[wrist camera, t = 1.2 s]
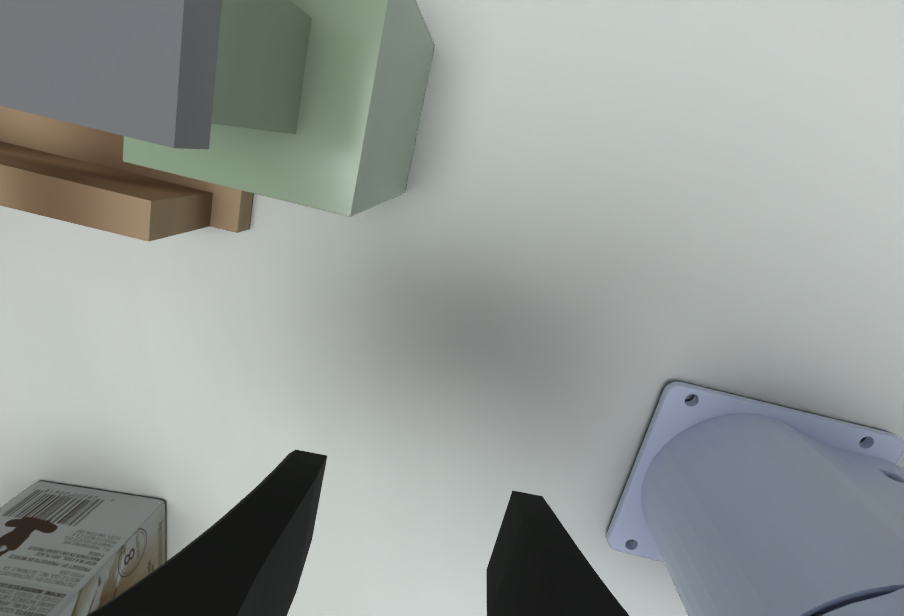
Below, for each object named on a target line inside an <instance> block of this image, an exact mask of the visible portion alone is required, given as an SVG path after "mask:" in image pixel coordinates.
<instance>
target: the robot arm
mask: <svg viewBox="0 0 904 616" xmlns="http://www.w3.org/2000/svg"><path fill="white" fill-rule="evenodd" d="M690 394H695V396H694V398H693V400H691V401H689V402H685V398H686V397H687V396H688V395H690ZM864 437H866V439H865V440H864V441H863V442H861V443H860V440H861V439H862V438H864ZM903 449H904V442H903V441H902V439H901V438H899V437H898V436H896V435H894V434H892V433H889V432H885V431H881V430H877V429H873V428H869V427H865V426H861V425H856V424H852V423H848V422H844V421H840V420H836V419H832V418H828V417H823V416H819V415H815V414H811V413H807V412H803V411H799V410H795V409H790V408H786V407H782V406H778V405H774V404H770V403H766V402H762V401H757V400H753V399H749V398H745V397H741V396H737V395H733V394H729V393H724V392H720V391H716V390H712V389H708V388H704V387H700V386H695V385H691V384H687V383H683V382H672V383H670V384H668V385H667V386H666V387H665V389H664V390H663V393H662V395H661V398H660V400H659V403H658V405H657V408H656V410H655V413H654V416H653V418H652V421H651V423H650V426H649V428H648V431H647V433H646V436H645V438H644V441H643V443H642V446H641V448H640V451H639V453H638V456H637V459H636V461H635V464H634V466H633V469H632V471H631V474H630V476H629V479H628V481H627V484H626V486H625V489H624V491H623V494H622V496H621V499H620V501H619V504H618V507H617V509H616V512H615V514H614V517H613V519H612V522H611V524H610V527H609V529H608V532H607V536H606V538H607V541H608V544H609V546H610V547H611V548H612V549H614V550H616V551H621V552H625V553H629V554H633V555H637V556H642V557H646V558H650V559H654V560H658V561H663V562H664V563H665V565H666V567H667V569H668V571H669V574H670V576H671V578H672V580H673V583H674V585H675V587H676V589H677V591H678V594H679V596H680V598H681V600H682V603H683V605H684V607H685V609H686V611H687V614H688V616H904V470H903V469H902V468H900V467H899V466H898V465H896V462H897V460H898V459H899V457H900V455H901V453H902V452H903ZM326 459H327V456H326V455H321V454H315V453H310V452H305V451H300V450H295V451H293V452H291V453H289V454H288V455H287V456H286V458H285V459H284V460H283V461H282V462H281V463H280V464H279V465H278V466H277V467H276V468H275V469H274V470H273V471H272V472H271V473H270V474H269V475H268V476H267V477H266V478H265V479H264V480H263V481H262V482H261V483H260V484H259V485H258V486H257V487H256V488H255V489H254V490H253V491H251V492H250V493H249V494H248V495H247V496H246V497H245V498H244V499H243V500H241V501H240V502H239V503H238V504H237V505H236V506H235V507H234V508H232V509H231V510H230V511H229V512H228V513H227V514H226V515H224V516H223V517H222V518H221V519H220V520H219V521H217V522H216V523H215V524H214V525H213V526H211V527H210V528H209V529H208V530H206V531H205V532H204V533H203V534H201V535H200V536H199V537H198V538H196V539H195V540H194V541H192V542H191V543H190V544H189V545H187V546H186V547H185V548H184V549H182V550H181V551H180V552H179V553H177V554H176V555H175V556H173V557H172V558H171V559H169V560H168V561H167V562H165V563H164V564H163V565H161V566H160V567H158V568H157V569H156V570H154V571H153V572H151V573H150V574H149V575H147V576H146V577H144V578H143V579H142V580H140V581H139V582H137V583H136V584H134V585H133V586H131V587H130V588H128V589H127V590H125V591H124V592H123V593H121V594H120V595H118V596H117V597H115V598H114V599H112V600H111V601H109V602H107V603H106V604H104V605H103V606H101V607H99V608H98V609H96V610H95V611H93V612H91V613H90V614H88V615H87V616H287V613H288V611H289V608H290V606H291V603H292V601H293V598H294V596H295V594H296V591H297V587H298V584H299V581H300V577H301V574H302V571H303V568H304V564H305V561H306V557H307V554H308V551H309V547H310V544H311V540H312V536H313V530H314V525H315V519H316V514H317V508H318V503H319V498H320V492H321V487H322V481H323V476H324V470H325V465H326ZM628 540H634V541H633V542H631V543H626V542H627V541H628ZM487 616H629V615H628V613H627V612H626V611H625V610H624V609H623V607H622V606H621V605H620V603H619V602H618V601H617V600H616V598H615V597H614V596H613V594H612V593H611V592H610V591H609V589H608V588H607V587H606V585H605V584H604V583H603V581H602V580H601V579H600V577H599V576H598V575H597V573H596V572H595V571H594V569H593V568H592V566H591V565H590V564H589V562H588V561H587V560H586V558H585V557H584V555H583V554H582V553H581V551H580V550H579V548H578V547H577V545H576V544H575V543H574V541H573V540H572V538H571V537H570V535H569V534H568V533H567V531H566V530H565V528H564V527H563V525H562V524H561V523H560V521H559V520H558V518H557V517H556V515H555V514H554V512H553V511H552V510H551V508H550V507H549V505H548V504H547V502H546V501H545V500H544V498H543V497H542V496H538V495H532V494H527V493H522V492H516V491H512V494H511V497H510V500H509V503H508V506H507V509H506V512H505V515H504V518H503V521H502V525H501V528H500V531H499V534H498V537H497V540H496V543H495V546H494V549H493V552H492V555H491V558H490V561H489V564H488V567H487Z"/></svg>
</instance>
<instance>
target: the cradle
mask: <svg viewBox="0 0 904 616" xmlns="http://www.w3.org/2000/svg"><path fill="white" fill-rule="evenodd" d="M123 145H124V136H122V135H118V134H114V133H110V132H105V131H101V130H97V129H93V128H89V127H85V126H81V125H77V124H73V123H69V122H65V121H61V120H56V119H52V118H48V117H44V116H40V115H36V114H32V113H28V112H24V111H20V110H16V109H11V108H7V107H3V106H0V205H1V206H5V207H9V208H13V209H17V210H22V211H26V212H30V213H34V214H38V215H42V216H46V217H50V218H55V219H59V220H63V221H67V222H71V223H75V224H79V225H83V226H88V227H92V228H96V229H100V230H104V231H108V232H112V233H116V234H120V235H125V236H129V237H133V238H137V239H141V240H145V241H152V240H156V239H160V238H164V237H168V236H172V235H176V234H180V233H184V232H188V231H192V230H196V229H200V228H204V227H208V226H212V227H216V228H220V229H224V230H228V231H232V232H236V233H238V232H241V231H244V230H247V229H249V227H250V218H251V210H252V201H253V193H251V192H247V191H242V190H238V189H234V188H230V187H226V186H222V185H218V184H214V183H210V182H206V181H202V180H197V179H193V178H189V177H185V176H181V175H177V174H173V173H169V172H165V171H161V170H156V169H152V168H148V167H144V166H140V165H136V164H132V163H128V162H124V161H123Z"/></svg>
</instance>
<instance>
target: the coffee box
mask: <svg viewBox="0 0 904 616" xmlns="http://www.w3.org/2000/svg"><path fill="white" fill-rule="evenodd" d="M165 535H166V533H165V503H164V501H162V500H158V499H153V498H147V497H140V496H134V495H127V494H121V493H115V492H108V491H102V490H95V489H89V488H82V487H76V486H69V485H62V484H56V483H50V482H44V481H38V482H36V483H35V484H33V485H32V486H30V487H29V488H27V489H26V490H24V491H23V492H22V493H20V494H19V495H17V496H16V497H15V498H13V499H12V500H10V501H9V502H8V503H6V504H5V505H3V506H2V507H1V508H0V616H87V615H88V614H90V613H91V612H93V611H95V610H96V609H98V608H99V607H101V606H103V605H104V604H106V603H107V602H109V601H111V600H112V599H114V598H115V597H117V596H118V595H120V594H121V593H123V592H124V591H125V590H127V589H128V588H130V587H131V586H133V585H134V584H136V583H137V582H139V581H140V580H142V579H143V578H144V577H146V576H147V575H149V574H150V573H151V572H153V571H154V570H156V569H157V568H158V567H160V566H161V565H163V564H164V563H165Z"/></svg>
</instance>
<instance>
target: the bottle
mask: <svg viewBox="0 0 904 616" xmlns="http://www.w3.org/2000/svg"><path fill="white" fill-rule="evenodd" d="M434 46H435V45H434V42H433V40H432V38H431V35H430V33H429V31H428V28H427V26H426V24H425V21H424V19H423V17H422V14H421V12H420V10H419V7H418V5H417V2H416V0H0V106H3V107H7V108H11V109H16V110H20V111H24V112H28V113H32V114H36V115H40V116H44V117H48V118H52V119H56V120H61V121H65V122H69V123H73V124H77V125H81V126H85V127H89V128H93V129H97V130H101V131H105V132H110V133H114V134H118V135H122V136H124V145H123V161H124V162H128V163H132V164H136V165H140V166H144V167H148V168H152V169H156V170H161V171H165V172H169V173H173V174H177V175H181V176H185V177H189V178H193V179H197V180H202V181H206V182H210V183H214V184H218V185H222V186H226V187H230V188H234V189H238V190H242V191H247V192H251V193H255V194H259V195H263V196H267V197H271V198H275V199H279V200H283V201H288V202H292V203H296V204H300V205H304V206H308V207H312V208H316V209H320V210H324V211H328V212H333V213H337V214H341V215H345V216H349V217H351V216H353V215H355V214H358V213H360V212H362V211H364V210H367V209H369V208H371V207H373V206H376V205H378V204H380V203H382V202H385V201H387V200H389V199H392V198H394V197H396V196H398V195H401V194H403V193H405V189H406V184H407V179H408V174H409V169H410V164H411V160H412V155H413V150H414V145H415V140H416V135H417V130H418V125H419V120H420V115H421V110H422V105H423V100H424V96H425V91H426V86H427V81H428V76H429V71H430V66H431V61H432V56H433V51H434Z"/></svg>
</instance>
